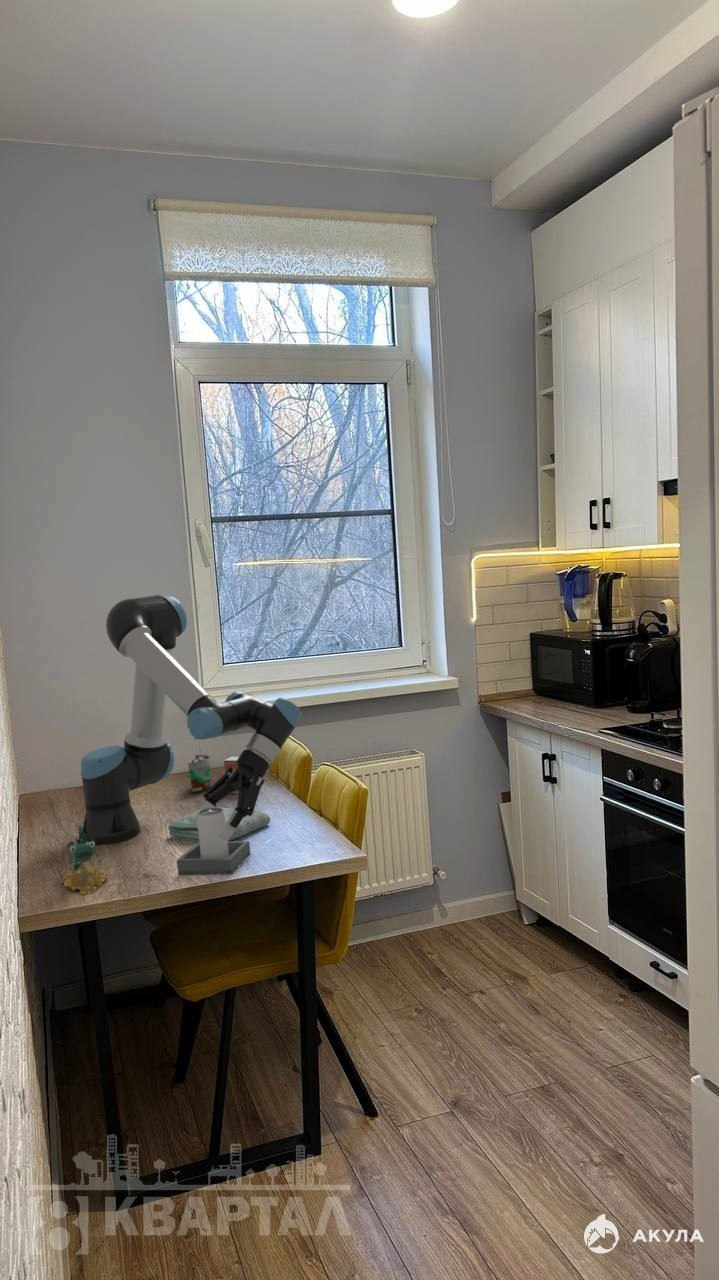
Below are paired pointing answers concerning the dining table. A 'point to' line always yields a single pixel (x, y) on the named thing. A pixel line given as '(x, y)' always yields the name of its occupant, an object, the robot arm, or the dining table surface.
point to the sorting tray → (213, 860)
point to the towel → (257, 820)
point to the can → (211, 833)
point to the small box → (231, 763)
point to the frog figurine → (85, 876)
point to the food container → (200, 773)
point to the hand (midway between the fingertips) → (208, 832)
